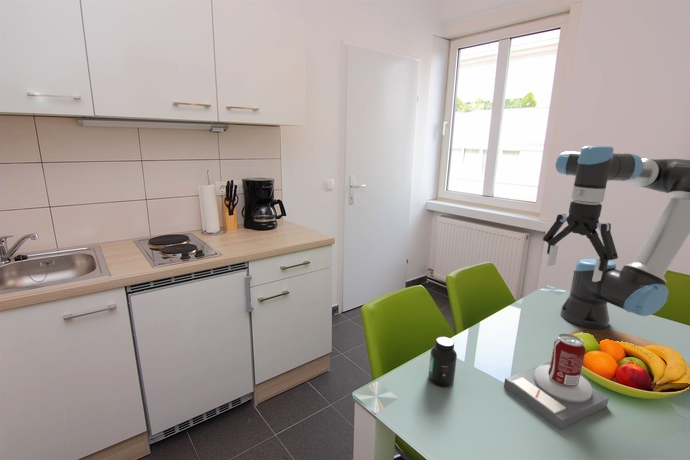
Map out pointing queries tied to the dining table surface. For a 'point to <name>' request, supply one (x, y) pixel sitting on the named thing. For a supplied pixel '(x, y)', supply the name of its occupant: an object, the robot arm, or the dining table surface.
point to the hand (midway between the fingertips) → (572, 272)
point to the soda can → (567, 360)
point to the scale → (555, 396)
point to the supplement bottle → (442, 362)
